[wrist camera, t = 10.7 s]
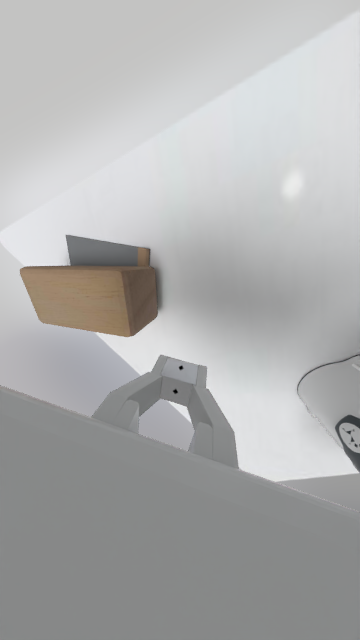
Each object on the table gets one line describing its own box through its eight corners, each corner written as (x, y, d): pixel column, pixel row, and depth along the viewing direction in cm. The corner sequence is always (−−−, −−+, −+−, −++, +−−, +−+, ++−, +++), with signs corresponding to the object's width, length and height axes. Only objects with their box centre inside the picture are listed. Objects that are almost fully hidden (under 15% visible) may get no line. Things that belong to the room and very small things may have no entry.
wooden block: (156, 266, 26) (74, 265, 31) (120, 268, 17) (13, 266, 22) (159, 317, 29) (85, 308, 35) (131, 340, 21) (38, 324, 26)
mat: (150, 249, 27) (145, 248, 25) (146, 311, 32) (143, 314, 31) (67, 235, 29) (58, 233, 27) (77, 296, 34) (70, 298, 32)
